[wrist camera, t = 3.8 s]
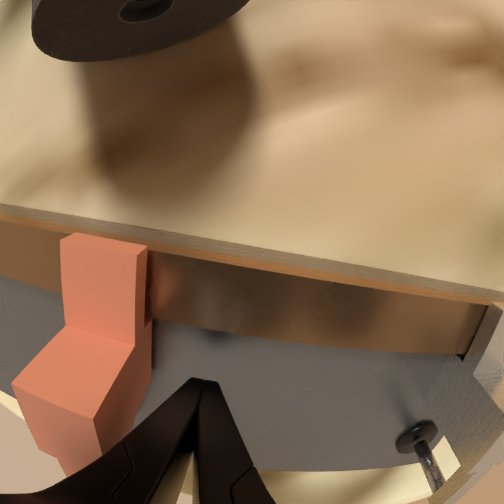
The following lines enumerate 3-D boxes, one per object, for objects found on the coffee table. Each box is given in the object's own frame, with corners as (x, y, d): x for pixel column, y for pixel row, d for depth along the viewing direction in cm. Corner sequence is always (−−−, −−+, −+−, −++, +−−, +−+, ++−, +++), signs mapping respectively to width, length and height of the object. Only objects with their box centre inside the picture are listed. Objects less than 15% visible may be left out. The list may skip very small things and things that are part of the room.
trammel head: (157, 238, 8) (75, 311, 4) (153, 430, 11) (125, 517, 6) (89, 225, 8) (-15, 279, 4) (104, 416, 10) (65, 495, 6)
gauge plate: (504, 287, 10) (585, 348, 5) (416, 447, 13) (446, 519, 8) (-26, 195, 9) (-118, 224, 4) (4, 374, 12) (-47, 432, 7)
